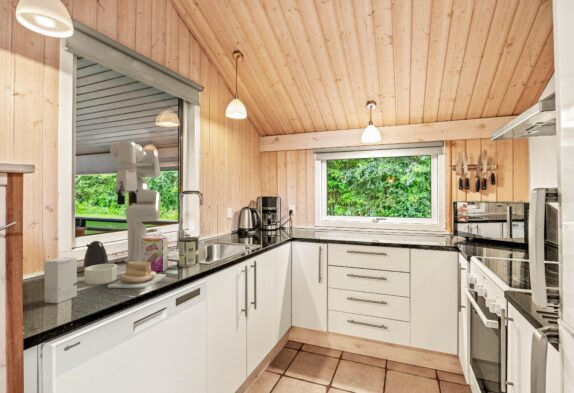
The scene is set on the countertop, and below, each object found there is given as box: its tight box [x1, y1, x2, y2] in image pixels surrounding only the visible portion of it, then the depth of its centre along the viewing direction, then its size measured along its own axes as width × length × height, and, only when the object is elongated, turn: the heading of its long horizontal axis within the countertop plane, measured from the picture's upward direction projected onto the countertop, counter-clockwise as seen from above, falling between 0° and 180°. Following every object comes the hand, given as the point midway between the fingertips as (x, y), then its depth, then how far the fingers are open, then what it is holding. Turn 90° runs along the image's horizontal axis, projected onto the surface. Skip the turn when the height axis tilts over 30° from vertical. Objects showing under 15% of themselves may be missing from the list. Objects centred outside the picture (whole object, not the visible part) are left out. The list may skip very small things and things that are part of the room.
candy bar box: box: [142, 236, 169, 273], centre depth 152 cm, size 11×5×16 cm, turn 84°
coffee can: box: [178, 236, 200, 268], centre depth 164 cm, size 10×10×14 cm
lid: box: [119, 262, 157, 283], centre depth 134 cm, size 14×14×7 cm
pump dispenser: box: [82, 240, 109, 269], centre depth 149 cm, size 10×10×15 cm
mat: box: [107, 273, 167, 290], centre depth 134 cm, size 18×16×1 cm
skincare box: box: [43, 256, 78, 304], centre depth 112 cm, size 8×6×15 cm
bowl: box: [84, 263, 118, 286], centre depth 135 cm, size 12×12×6 cm
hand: (127, 203), depth 146 cm, fingers open, 9 cm apart
